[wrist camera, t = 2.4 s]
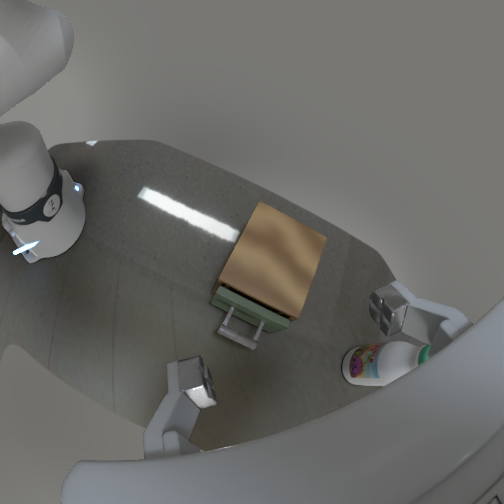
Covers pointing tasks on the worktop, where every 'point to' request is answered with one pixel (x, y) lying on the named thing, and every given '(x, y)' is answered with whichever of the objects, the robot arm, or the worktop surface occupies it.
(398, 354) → the milk bottle
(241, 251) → the cabinet
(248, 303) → the drawer
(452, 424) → the robot arm
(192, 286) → the worktop surface
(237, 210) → the worktop surface
